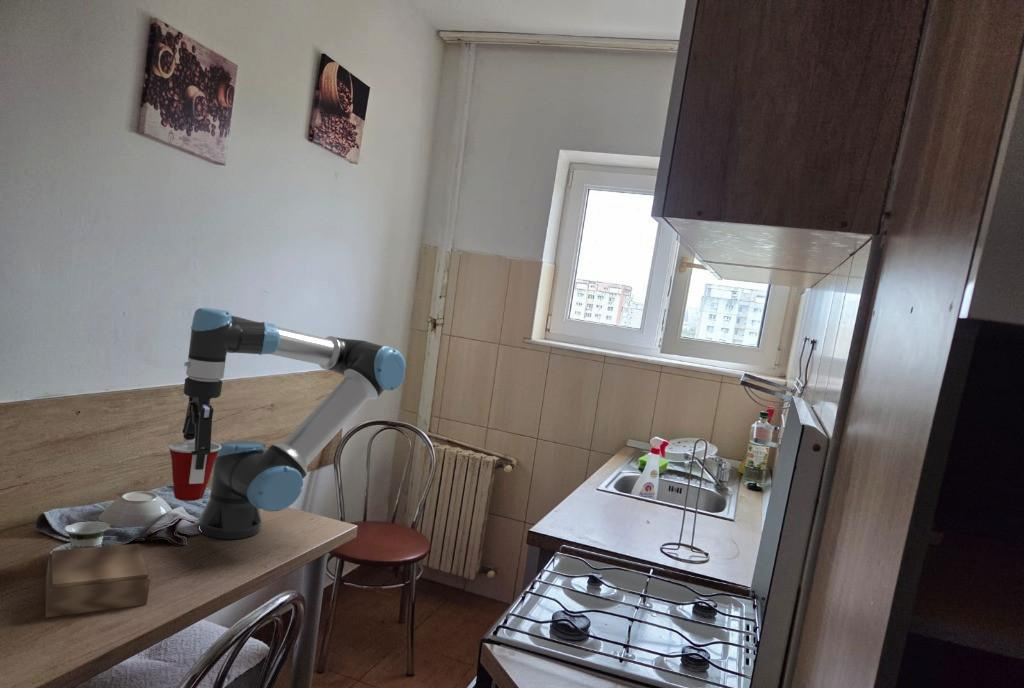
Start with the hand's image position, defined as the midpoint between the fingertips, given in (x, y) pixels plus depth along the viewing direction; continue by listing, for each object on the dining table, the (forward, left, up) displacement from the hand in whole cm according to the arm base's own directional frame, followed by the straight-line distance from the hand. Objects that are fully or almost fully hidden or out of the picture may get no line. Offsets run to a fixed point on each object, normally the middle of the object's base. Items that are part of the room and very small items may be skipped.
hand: (191, 474), depth 141 cm
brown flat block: (+16, +9, -21) cm, 28 cm away
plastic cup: (0, 0, -5) cm, 5 cm away
